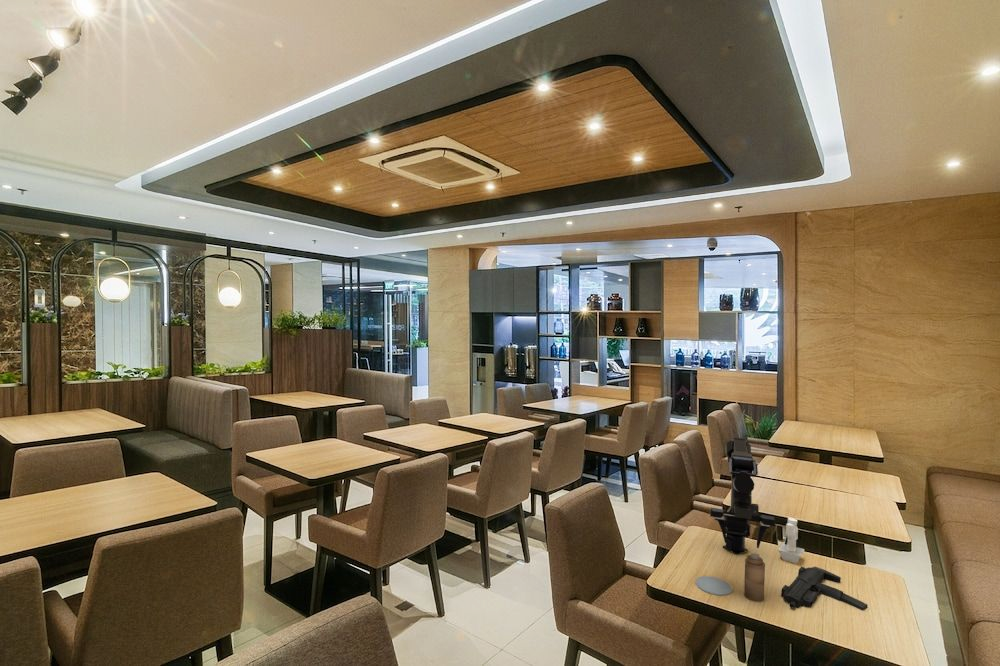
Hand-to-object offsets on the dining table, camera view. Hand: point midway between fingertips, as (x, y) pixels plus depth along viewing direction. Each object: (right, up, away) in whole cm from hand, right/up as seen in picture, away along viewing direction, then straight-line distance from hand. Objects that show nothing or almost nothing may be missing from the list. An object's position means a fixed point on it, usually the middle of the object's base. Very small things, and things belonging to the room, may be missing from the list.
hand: (741, 545), depth 160 cm
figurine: (+29, -15, +23) cm, 40 cm away
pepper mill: (+3, -15, -2) cm, 16 cm away
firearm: (+25, -16, -2) cm, 30 cm away
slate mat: (-7, -15, +4) cm, 17 cm away
